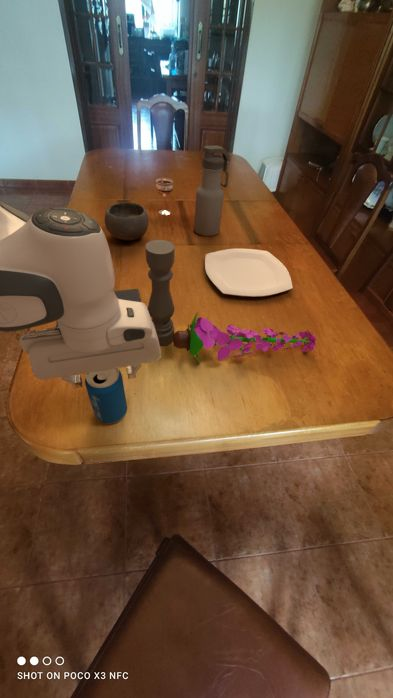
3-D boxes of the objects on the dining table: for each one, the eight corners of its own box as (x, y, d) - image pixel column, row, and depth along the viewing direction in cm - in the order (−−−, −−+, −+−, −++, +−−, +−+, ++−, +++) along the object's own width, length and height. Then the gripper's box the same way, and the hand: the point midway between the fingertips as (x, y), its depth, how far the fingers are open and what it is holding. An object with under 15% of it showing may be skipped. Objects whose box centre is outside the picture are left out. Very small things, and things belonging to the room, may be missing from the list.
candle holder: (177, 333, 81) (180, 242, 63) (168, 349, 77) (169, 257, 59) (155, 326, 82) (151, 236, 64) (145, 342, 78) (138, 250, 60)
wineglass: (166, 207, 133) (166, 176, 125) (176, 213, 130) (176, 182, 121) (153, 210, 130) (152, 179, 122) (162, 217, 127) (162, 185, 118)
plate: (269, 251, 114) (271, 246, 112) (302, 297, 96) (304, 292, 94) (196, 255, 108) (197, 250, 107) (216, 304, 91) (217, 299, 89)
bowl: (105, 228, 117) (101, 201, 110) (145, 226, 120) (144, 199, 113) (108, 249, 107) (104, 220, 100) (152, 246, 111) (151, 217, 104)
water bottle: (214, 223, 126) (223, 142, 106) (224, 235, 120) (235, 151, 100) (190, 226, 123) (194, 143, 103) (199, 238, 117) (206, 152, 97)
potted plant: (168, 353, 81) (293, 352, 89) (178, 377, 66) (328, 372, 73) (170, 306, 78) (299, 308, 85) (180, 318, 63) (337, 319, 70)
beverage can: (87, 416, 63) (75, 379, 54) (108, 393, 67) (99, 355, 59) (114, 431, 61) (105, 395, 53) (133, 406, 65) (128, 369, 57)
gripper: (12, 349, 43) (42, 406, 53) (162, 328, 47) (164, 384, 57) (17, 318, 47) (44, 377, 57) (154, 302, 51) (157, 358, 61)
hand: (105, 380), depth 57 cm, fingers open, 8 cm apart
